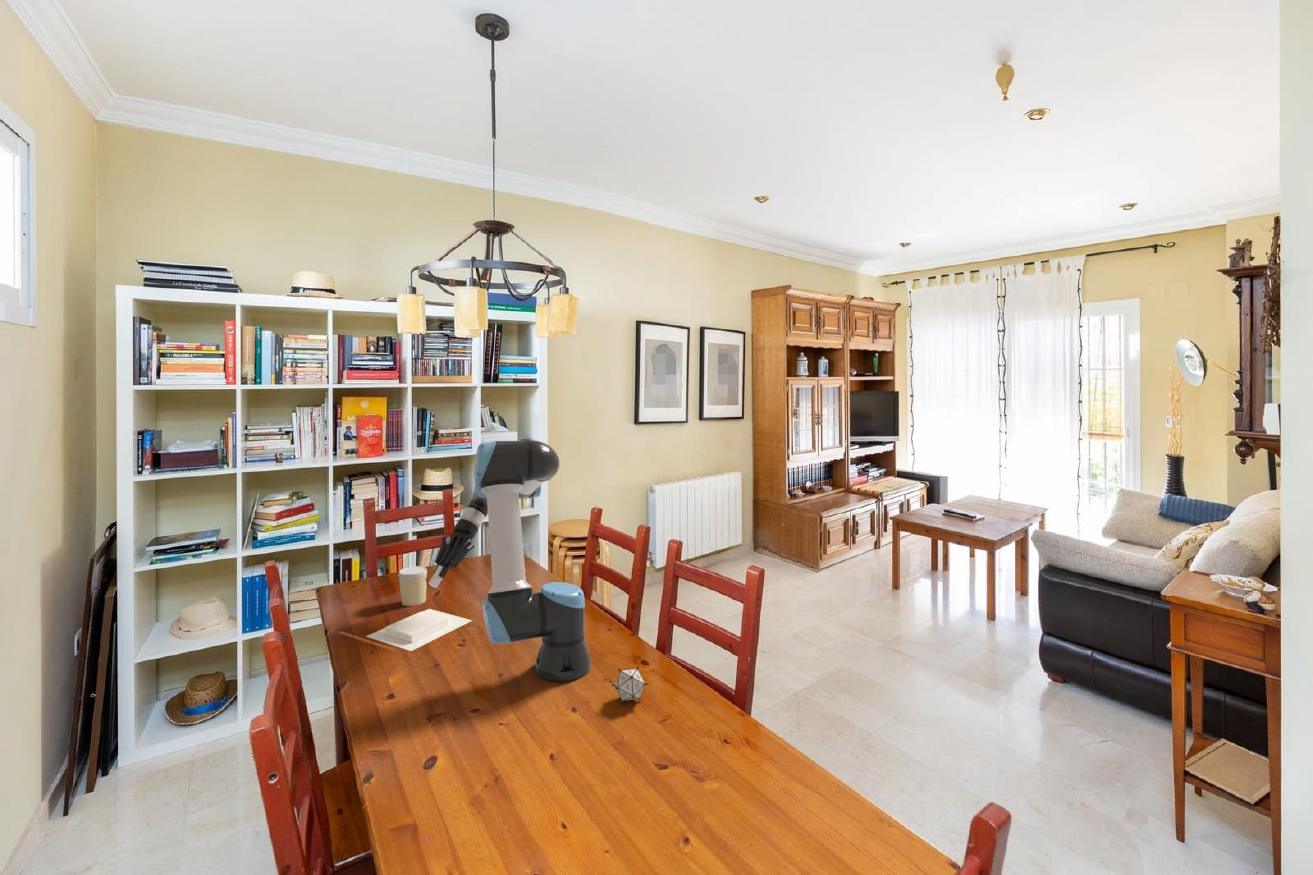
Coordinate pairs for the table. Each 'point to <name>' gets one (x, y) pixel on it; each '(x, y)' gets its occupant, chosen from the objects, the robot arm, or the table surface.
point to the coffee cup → (413, 585)
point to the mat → (453, 624)
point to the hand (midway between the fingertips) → (432, 585)
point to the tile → (416, 626)
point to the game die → (629, 684)
